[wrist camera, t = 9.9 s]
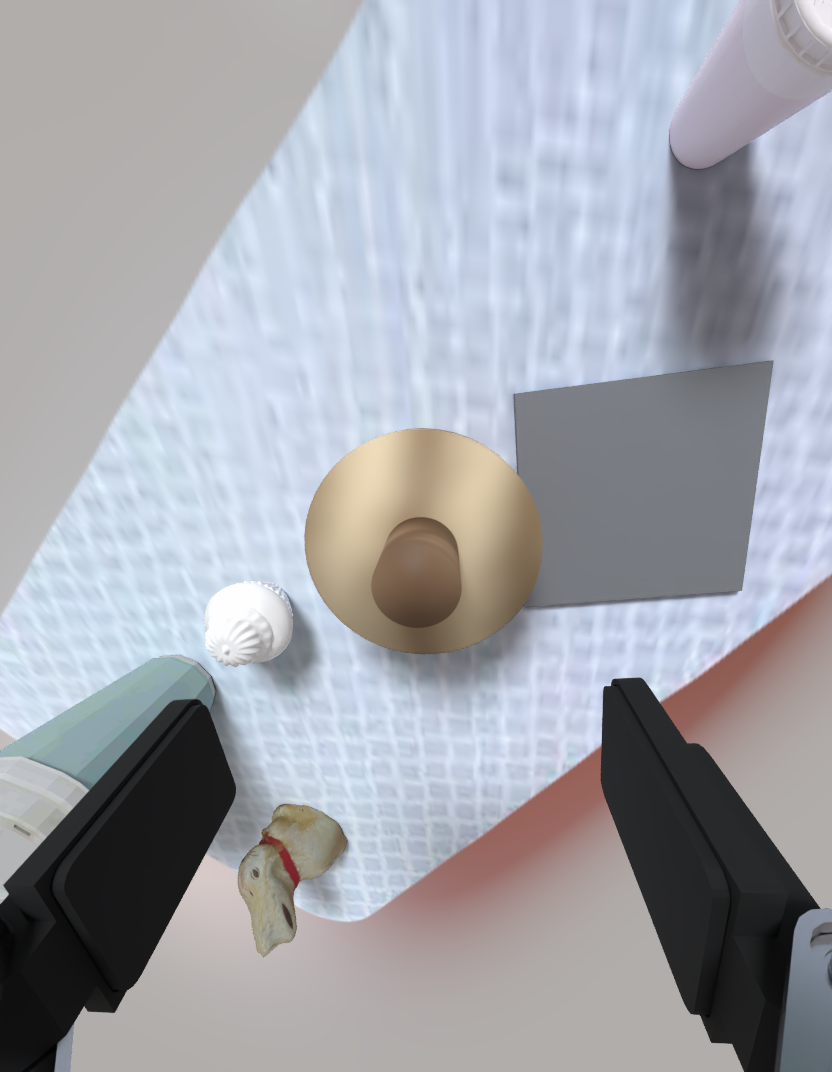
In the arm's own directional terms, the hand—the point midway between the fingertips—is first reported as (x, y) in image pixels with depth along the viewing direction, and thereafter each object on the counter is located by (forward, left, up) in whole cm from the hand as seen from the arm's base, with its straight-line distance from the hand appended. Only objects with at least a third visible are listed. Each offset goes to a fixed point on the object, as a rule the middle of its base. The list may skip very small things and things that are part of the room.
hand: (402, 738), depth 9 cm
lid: (0, 0, -14) cm, 14 cm away
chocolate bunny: (+15, +30, -21) cm, 39 cm away
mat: (-14, 0, -20) cm, 24 cm away
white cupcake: (+13, +6, -21) cm, 25 cm away
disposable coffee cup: (+23, +13, -21) cm, 34 cm away
